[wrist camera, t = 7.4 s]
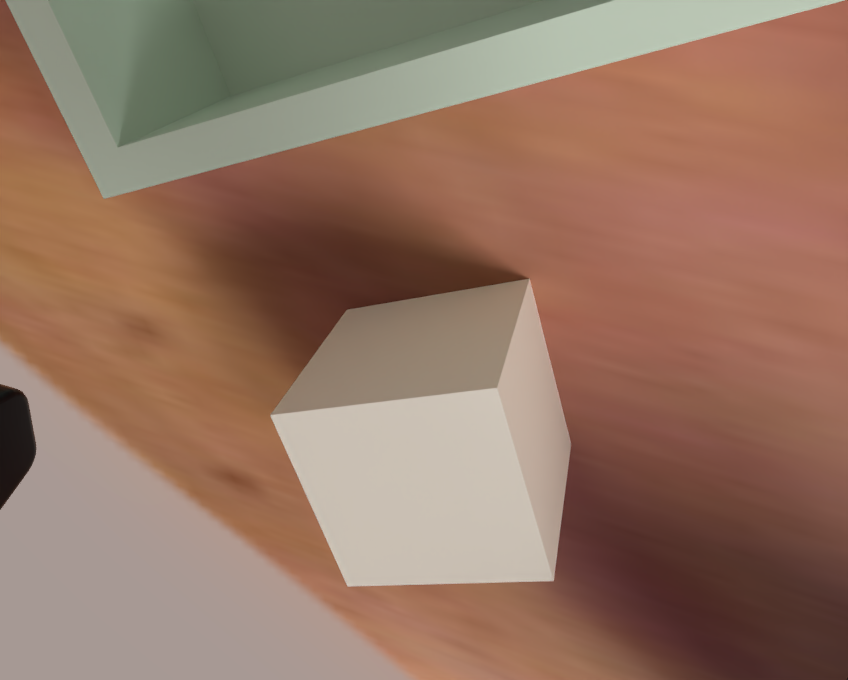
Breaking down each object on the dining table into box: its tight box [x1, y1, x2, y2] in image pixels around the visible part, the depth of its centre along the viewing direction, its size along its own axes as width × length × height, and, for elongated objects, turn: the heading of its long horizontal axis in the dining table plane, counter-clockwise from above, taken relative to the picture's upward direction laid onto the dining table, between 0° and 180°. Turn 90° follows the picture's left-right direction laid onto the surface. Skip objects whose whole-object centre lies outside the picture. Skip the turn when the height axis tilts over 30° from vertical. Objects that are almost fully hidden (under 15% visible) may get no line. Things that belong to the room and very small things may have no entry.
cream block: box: [270, 279, 571, 586], centre depth 18 cm, size 5×5×5 cm
